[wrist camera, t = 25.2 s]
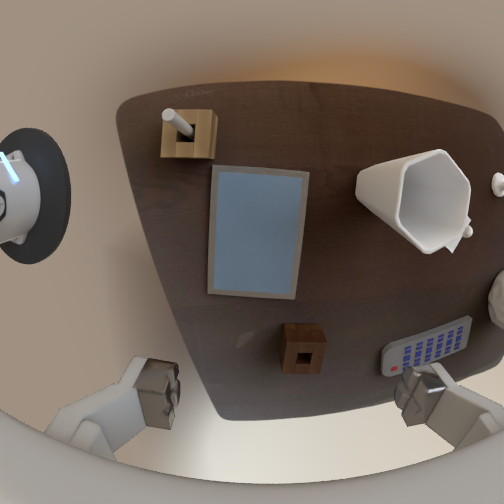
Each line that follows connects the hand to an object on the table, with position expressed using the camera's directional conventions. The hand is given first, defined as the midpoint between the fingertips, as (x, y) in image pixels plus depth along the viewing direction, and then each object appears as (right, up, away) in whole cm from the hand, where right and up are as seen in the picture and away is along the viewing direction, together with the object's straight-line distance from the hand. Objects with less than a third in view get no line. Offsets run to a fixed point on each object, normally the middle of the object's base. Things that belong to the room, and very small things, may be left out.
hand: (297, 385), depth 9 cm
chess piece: (+48, +18, +31) cm, 60 cm away
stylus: (-10, +21, +30) cm, 38 cm away
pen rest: (-10, +21, +30) cm, 38 cm away
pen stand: (+7, -11, +40) cm, 42 cm away
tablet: (-1, +7, +35) cm, 35 cm away
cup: (+18, +15, +32) cm, 40 cm away
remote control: (+35, -15, +41) cm, 56 cm away
